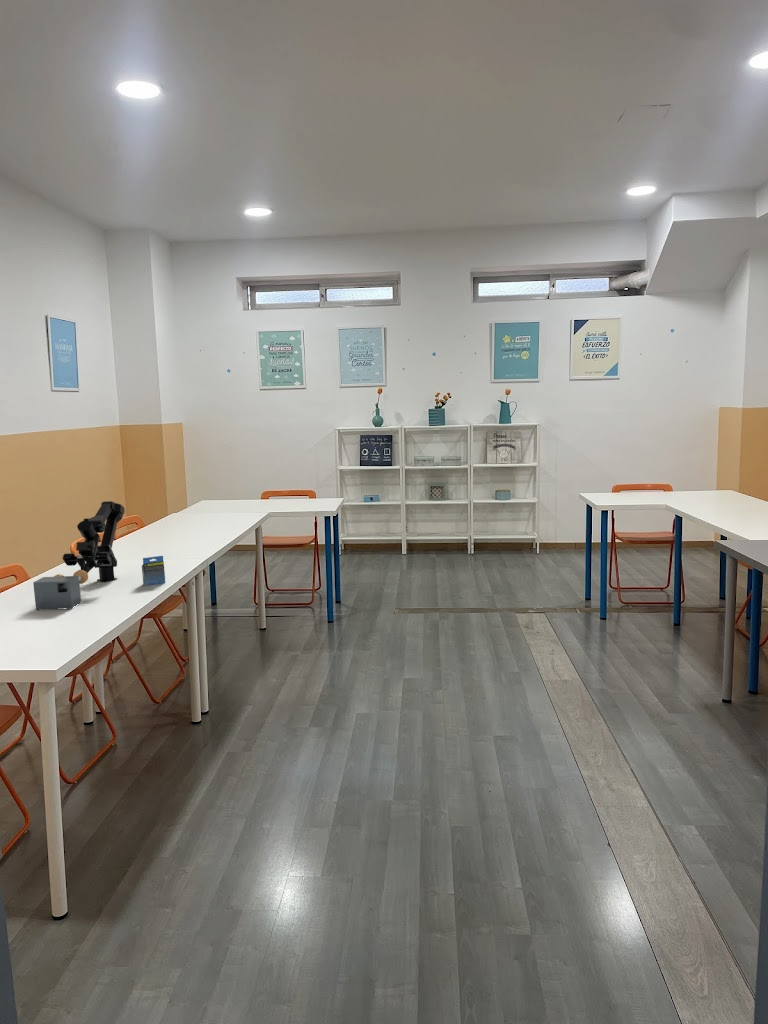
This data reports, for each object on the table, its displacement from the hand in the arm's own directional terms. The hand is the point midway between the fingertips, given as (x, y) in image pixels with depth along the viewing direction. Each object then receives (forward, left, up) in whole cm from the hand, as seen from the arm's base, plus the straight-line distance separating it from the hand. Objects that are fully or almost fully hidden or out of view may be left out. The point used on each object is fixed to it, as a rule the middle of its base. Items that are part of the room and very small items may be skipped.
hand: (83, 575), depth 310 cm
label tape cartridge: (-10, -28, -8) cm, 31 cm away
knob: (-5, +8, -3) cm, 10 cm away
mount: (-5, +14, -8) cm, 17 cm away
